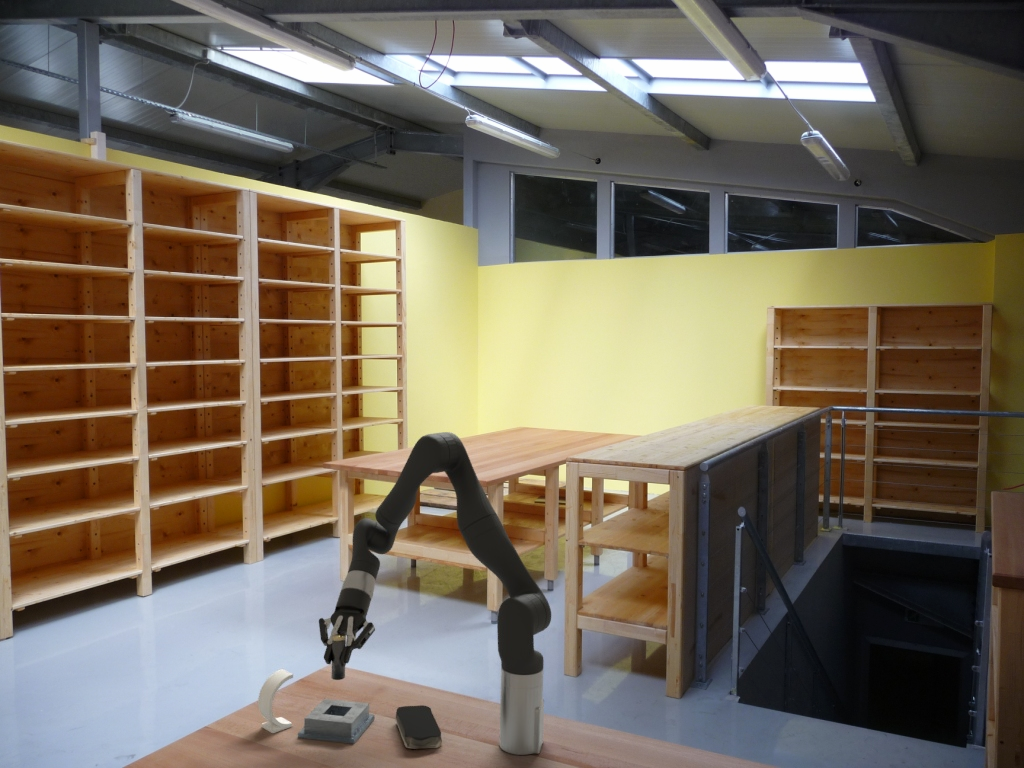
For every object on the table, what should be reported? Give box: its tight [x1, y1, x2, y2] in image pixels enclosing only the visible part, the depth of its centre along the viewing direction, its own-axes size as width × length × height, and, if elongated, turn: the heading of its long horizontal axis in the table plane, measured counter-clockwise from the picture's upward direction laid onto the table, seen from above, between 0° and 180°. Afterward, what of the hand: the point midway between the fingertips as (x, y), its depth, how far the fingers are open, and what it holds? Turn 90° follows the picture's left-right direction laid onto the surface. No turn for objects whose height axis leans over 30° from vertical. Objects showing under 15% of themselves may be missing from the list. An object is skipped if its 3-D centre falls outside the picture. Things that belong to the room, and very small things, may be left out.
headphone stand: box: [257, 668, 294, 734], centre depth 186 cm, size 5×6×12 cm
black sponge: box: [395, 704, 443, 750], centre depth 184 cm, size 16×8×4 cm, turn 16°
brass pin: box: [331, 634, 347, 681], centre depth 186 cm, size 3×3×10 cm
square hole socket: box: [297, 698, 376, 745], centre depth 186 cm, size 13×13×4 cm
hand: (335, 663), depth 184 cm, fingers closed on brass pin, 3 cm apart
